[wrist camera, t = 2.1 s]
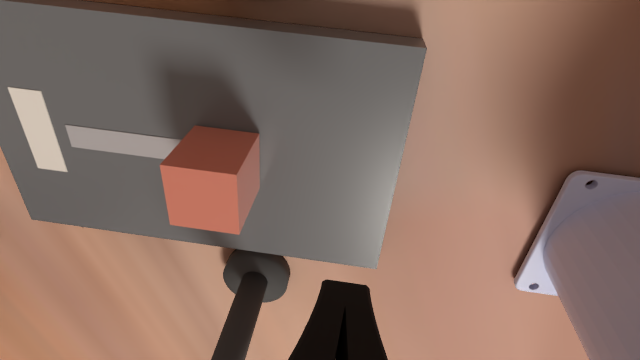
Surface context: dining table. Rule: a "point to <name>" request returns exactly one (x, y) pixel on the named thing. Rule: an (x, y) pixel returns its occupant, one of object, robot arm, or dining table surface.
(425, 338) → the dining table surface
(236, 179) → the knob
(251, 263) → the post
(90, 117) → the breaker panel
